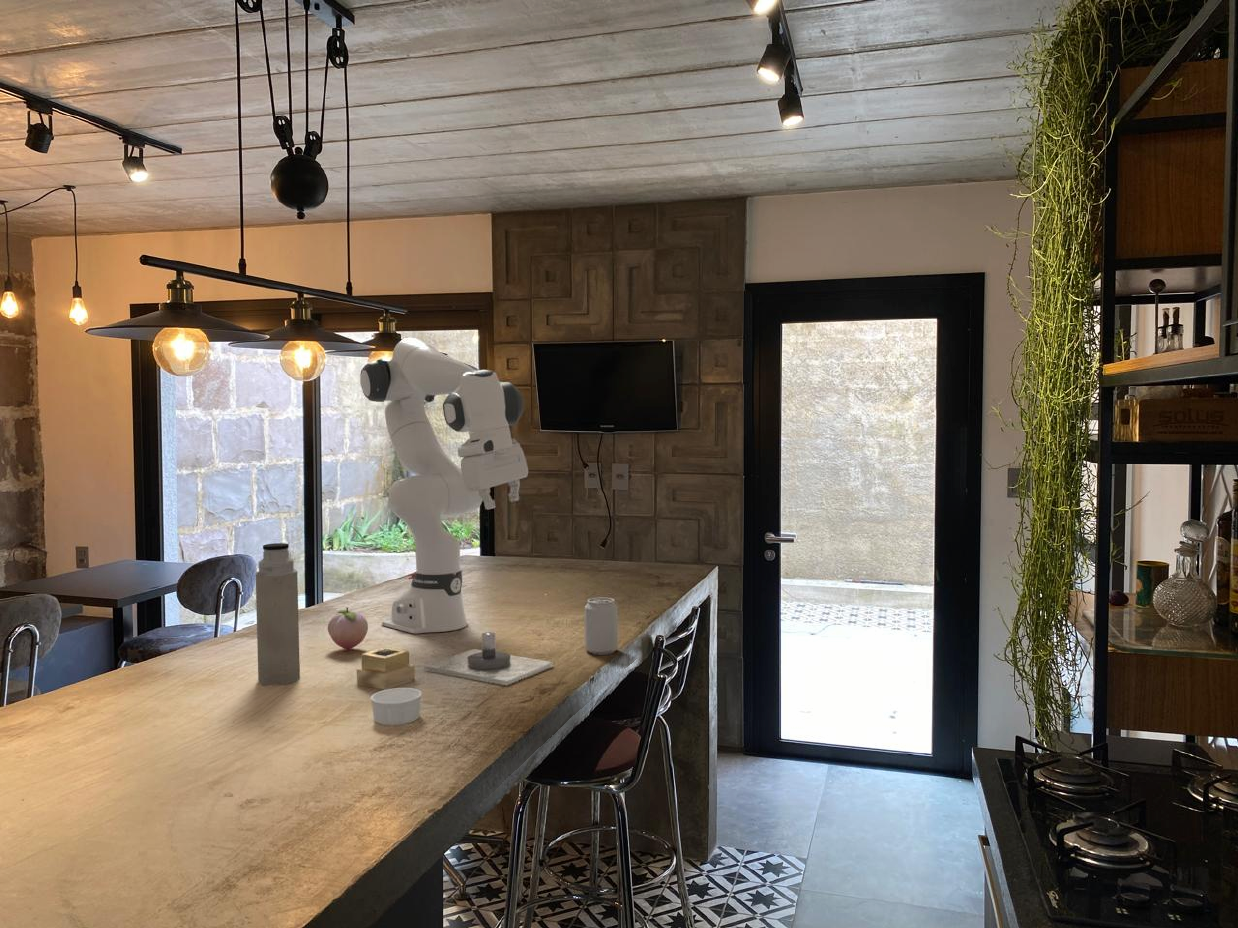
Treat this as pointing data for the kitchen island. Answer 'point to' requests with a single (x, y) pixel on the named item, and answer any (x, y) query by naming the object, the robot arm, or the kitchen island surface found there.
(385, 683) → the stand
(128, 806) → the kitchen island surface
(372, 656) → the tan square hollow frame
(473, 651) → the stone base with peg
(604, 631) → the can
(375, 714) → the ramekin
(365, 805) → the kitchen island surface
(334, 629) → the decorative fruit
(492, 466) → the robot arm
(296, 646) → the thermos bottle
